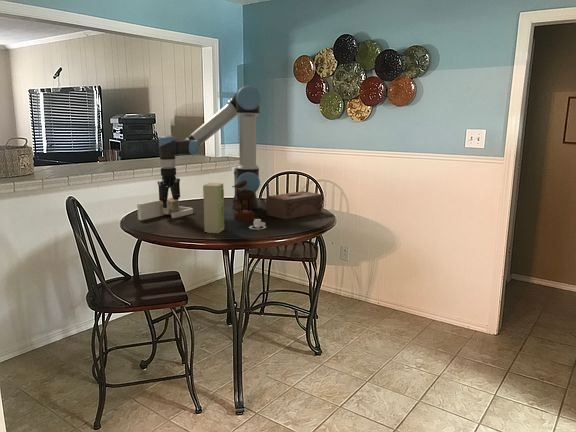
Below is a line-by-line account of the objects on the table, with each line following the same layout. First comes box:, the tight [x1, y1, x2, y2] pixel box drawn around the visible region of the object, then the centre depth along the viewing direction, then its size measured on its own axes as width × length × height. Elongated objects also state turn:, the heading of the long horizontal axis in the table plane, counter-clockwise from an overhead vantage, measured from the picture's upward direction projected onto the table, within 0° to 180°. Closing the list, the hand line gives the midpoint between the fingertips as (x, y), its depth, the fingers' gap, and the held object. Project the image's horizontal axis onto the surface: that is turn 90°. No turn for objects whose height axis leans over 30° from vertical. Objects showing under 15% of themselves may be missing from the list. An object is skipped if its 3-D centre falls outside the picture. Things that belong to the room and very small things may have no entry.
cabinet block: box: [161, 199, 180, 216], centre depth 240 cm, size 7×5×7 cm
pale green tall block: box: [202, 182, 225, 234], centre depth 207 cm, size 8×7×21 cm
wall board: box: [136, 196, 194, 221], centre depth 239 cm, size 12×28×8 cm, turn 149°
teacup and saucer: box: [248, 218, 267, 230], centre depth 216 cm, size 9×8×4 cm
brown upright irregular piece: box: [231, 180, 256, 222], centre depth 233 cm, size 15×11×20 cm
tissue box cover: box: [266, 190, 323, 220], centre depth 246 cm, size 26×14×10 cm, turn 131°
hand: (170, 212), depth 241 cm, fingers closed on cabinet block, 5 cm apart
